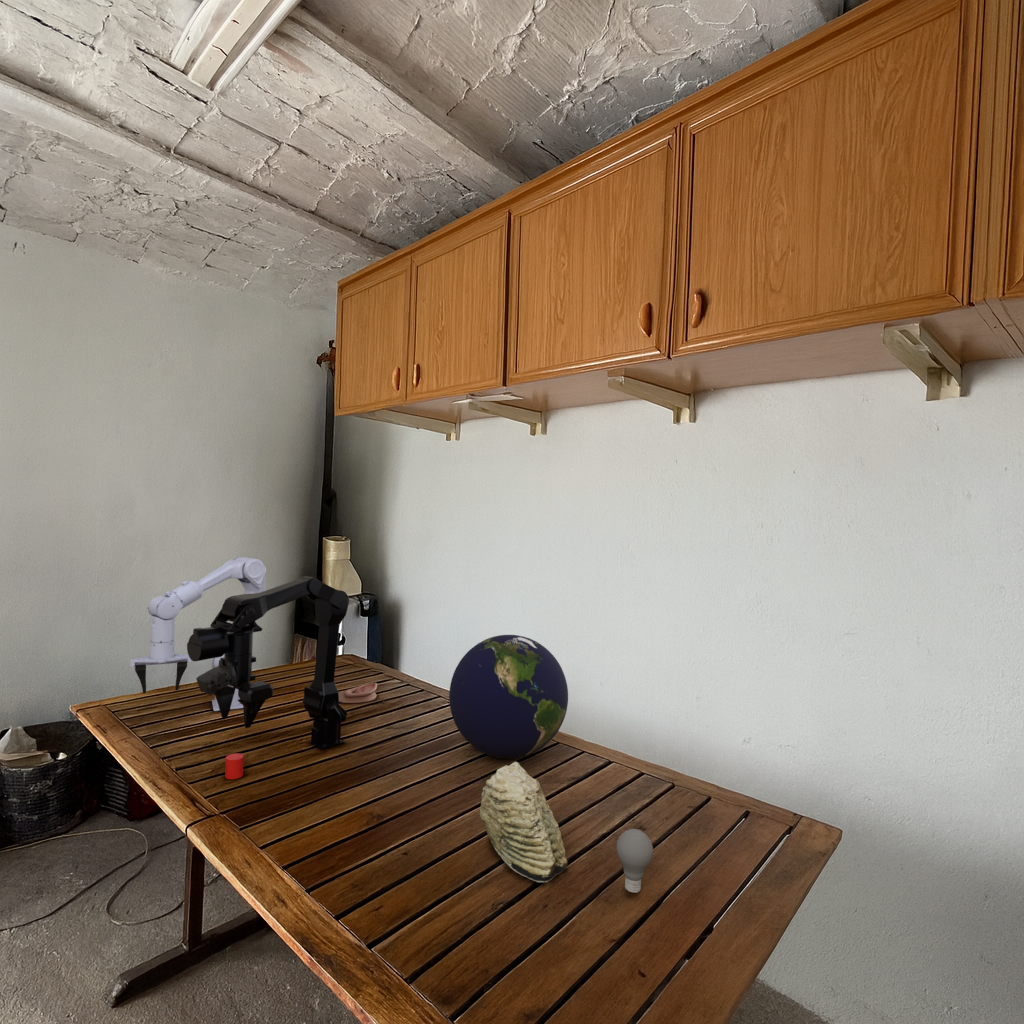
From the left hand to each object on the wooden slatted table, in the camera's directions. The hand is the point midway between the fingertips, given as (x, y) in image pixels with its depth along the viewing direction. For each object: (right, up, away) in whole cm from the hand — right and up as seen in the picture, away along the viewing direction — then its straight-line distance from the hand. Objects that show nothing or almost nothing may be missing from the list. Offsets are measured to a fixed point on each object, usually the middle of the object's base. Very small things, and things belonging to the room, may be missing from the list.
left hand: (160, 690), depth 172 cm
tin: (+33, -11, -30) cm, 46 cm away
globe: (+94, -13, -12) cm, 95 cm away
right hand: (+34, +1, -30) cm, 45 cm away
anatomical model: (+46, -10, +27) cm, 54 cm away
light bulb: (+115, -15, -66) cm, 134 cm away
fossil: (+97, -14, -57) cm, 113 cm away
